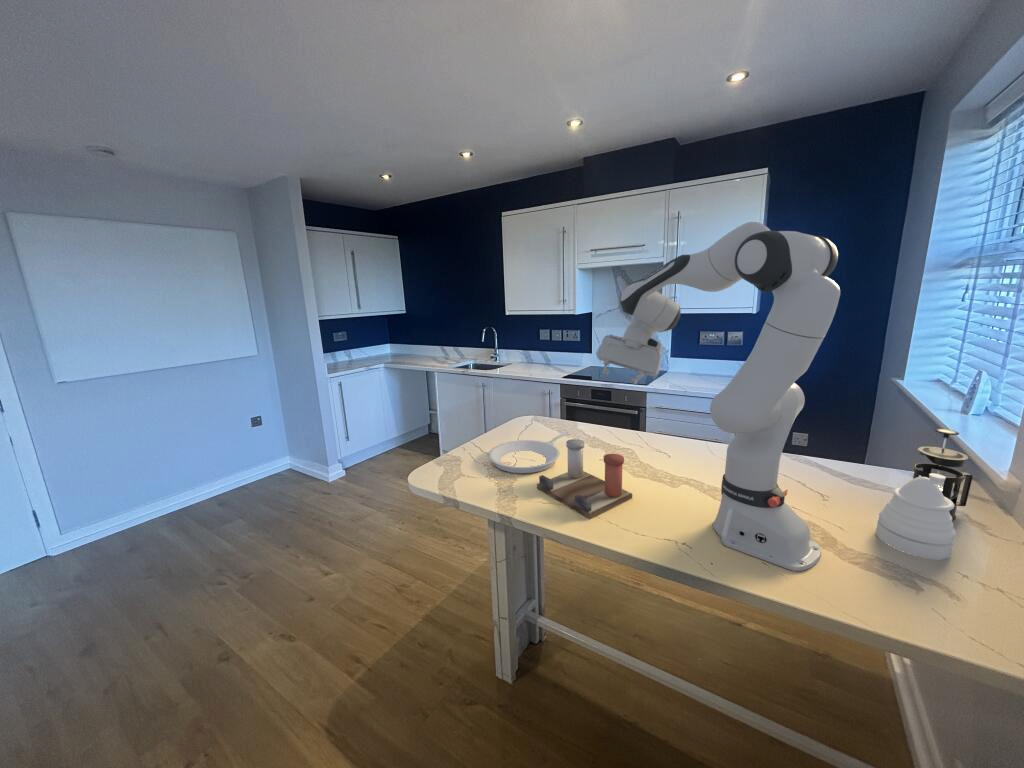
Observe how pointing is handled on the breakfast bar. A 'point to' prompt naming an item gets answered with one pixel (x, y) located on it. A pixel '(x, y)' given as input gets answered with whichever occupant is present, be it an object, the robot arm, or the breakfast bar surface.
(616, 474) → the red plug
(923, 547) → the honey pot
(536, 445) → the pan
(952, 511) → the french press
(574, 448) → the grey plug
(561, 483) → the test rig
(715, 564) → the breakfast bar surface
